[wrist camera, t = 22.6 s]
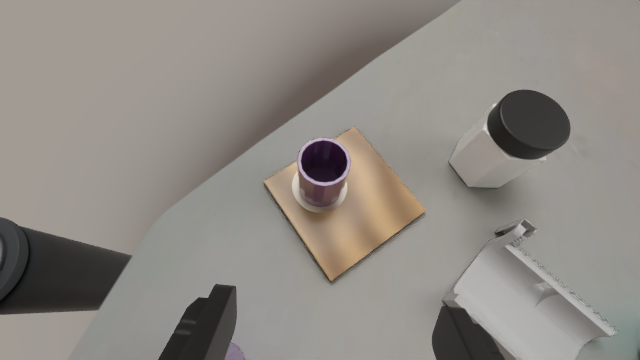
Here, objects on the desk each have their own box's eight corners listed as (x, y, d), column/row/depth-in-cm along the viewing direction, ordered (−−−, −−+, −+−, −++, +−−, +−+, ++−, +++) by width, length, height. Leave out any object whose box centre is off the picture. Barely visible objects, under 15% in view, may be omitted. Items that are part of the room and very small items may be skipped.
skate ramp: (442, 300, 37) (462, 300, 32) (498, 227, 41) (524, 217, 36) (548, 402, 34) (588, 418, 29) (599, 311, 38) (641, 312, 33)
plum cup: (315, 215, 39) (317, 196, 32) (290, 180, 41) (287, 154, 33) (351, 191, 41) (361, 167, 33) (325, 158, 42) (330, 128, 35)
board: (330, 282, 37) (331, 281, 36) (263, 183, 42) (262, 180, 41) (423, 212, 41) (427, 210, 40) (353, 129, 46) (355, 125, 45)
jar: (518, 175, 44) (590, 134, 33) (476, 200, 42) (538, 165, 31) (478, 129, 47) (533, 76, 36) (438, 151, 45) (482, 102, 34)
